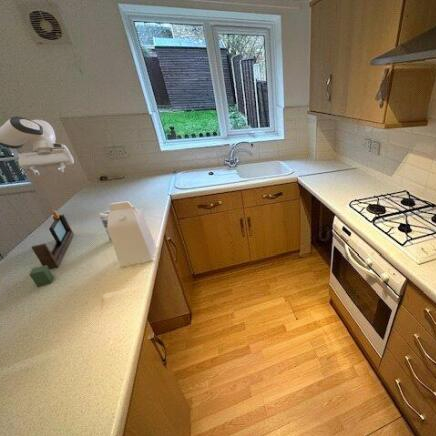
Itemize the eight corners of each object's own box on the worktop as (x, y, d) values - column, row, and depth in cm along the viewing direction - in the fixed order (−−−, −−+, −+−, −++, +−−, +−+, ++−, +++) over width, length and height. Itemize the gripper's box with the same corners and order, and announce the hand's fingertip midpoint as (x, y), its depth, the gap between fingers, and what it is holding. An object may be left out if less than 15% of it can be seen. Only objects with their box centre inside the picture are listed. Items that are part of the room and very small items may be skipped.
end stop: (40, 280, 93) (32, 268, 90) (54, 276, 95) (46, 264, 92) (37, 286, 90) (29, 274, 87) (51, 283, 91) (43, 270, 89)
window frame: (64, 236, 122) (53, 216, 116) (74, 234, 124) (63, 214, 118) (45, 270, 98) (31, 247, 92) (58, 267, 100) (44, 244, 94)
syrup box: (109, 240, 118) (97, 214, 111) (119, 234, 123) (109, 209, 116) (118, 242, 117) (107, 215, 110) (128, 235, 122) (118, 210, 115)
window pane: (64, 233, 120) (52, 209, 114) (67, 232, 121) (55, 209, 115) (58, 245, 110) (44, 220, 104) (61, 244, 111) (47, 220, 105)
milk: (156, 246, 113) (139, 195, 101) (152, 260, 103) (133, 206, 91) (126, 251, 109) (106, 199, 97) (120, 267, 100) (96, 210, 88)
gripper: (13, 148, 115) (16, 173, 112) (67, 144, 124) (71, 167, 121) (22, 155, 121) (25, 179, 118) (73, 151, 129) (77, 173, 126)
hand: (49, 173), depth 119 cm, fingers open, 8 cm apart
